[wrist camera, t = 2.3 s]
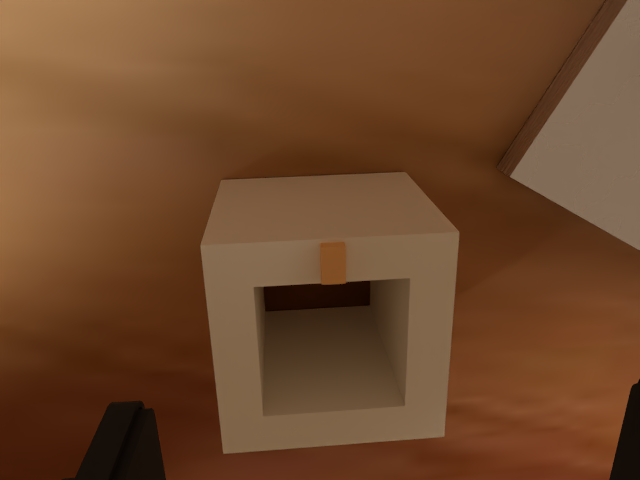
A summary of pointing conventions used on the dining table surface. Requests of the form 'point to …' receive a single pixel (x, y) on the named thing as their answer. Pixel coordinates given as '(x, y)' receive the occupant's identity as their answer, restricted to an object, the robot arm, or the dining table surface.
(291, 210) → the hollow square tube
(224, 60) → the dining table surface
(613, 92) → the square peg base
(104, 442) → the robot arm
